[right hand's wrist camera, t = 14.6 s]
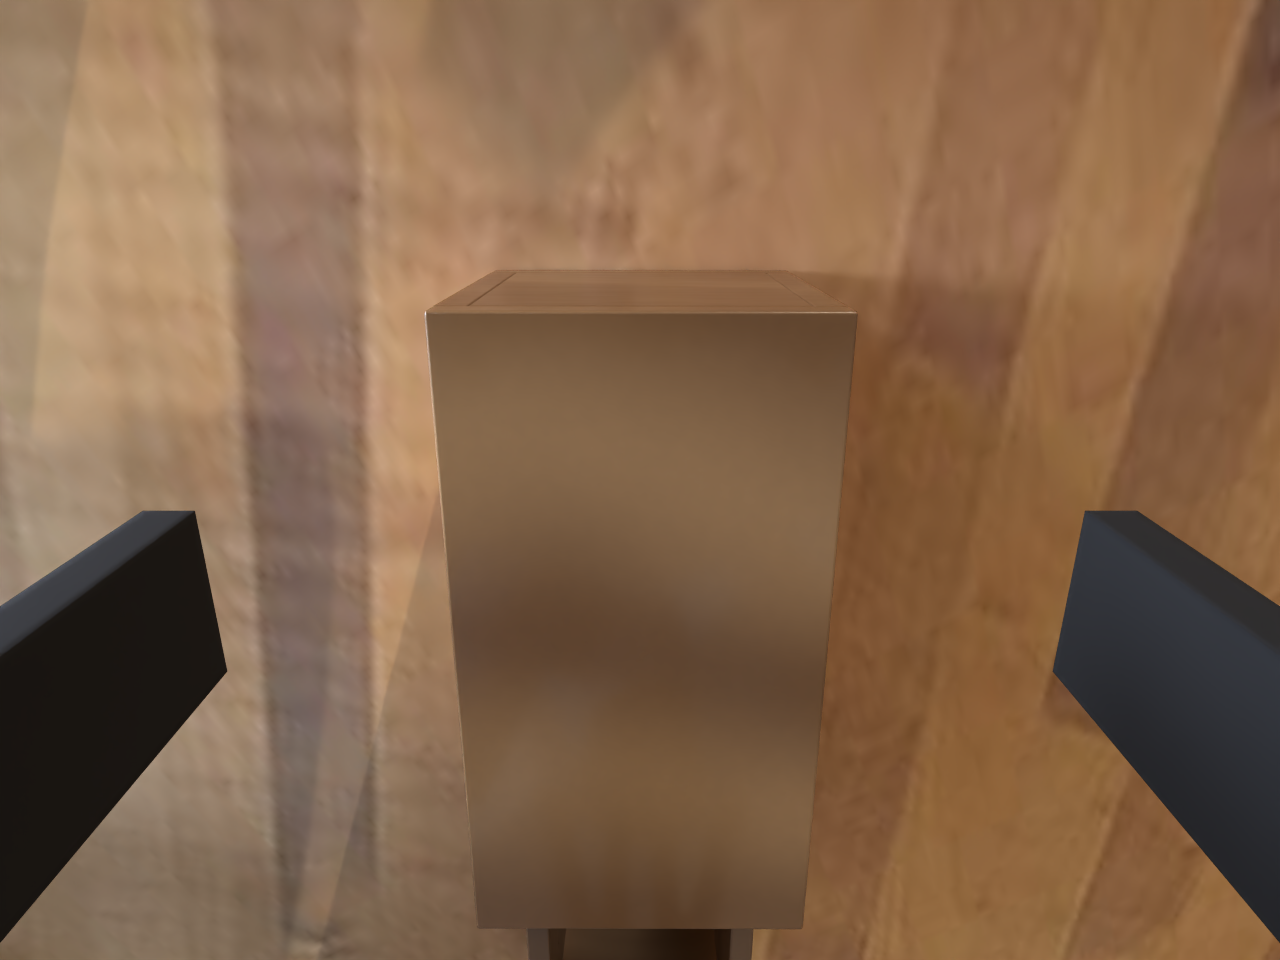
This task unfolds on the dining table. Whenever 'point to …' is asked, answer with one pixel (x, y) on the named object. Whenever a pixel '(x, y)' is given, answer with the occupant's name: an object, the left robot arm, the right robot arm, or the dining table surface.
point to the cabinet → (640, 586)
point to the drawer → (639, 944)
